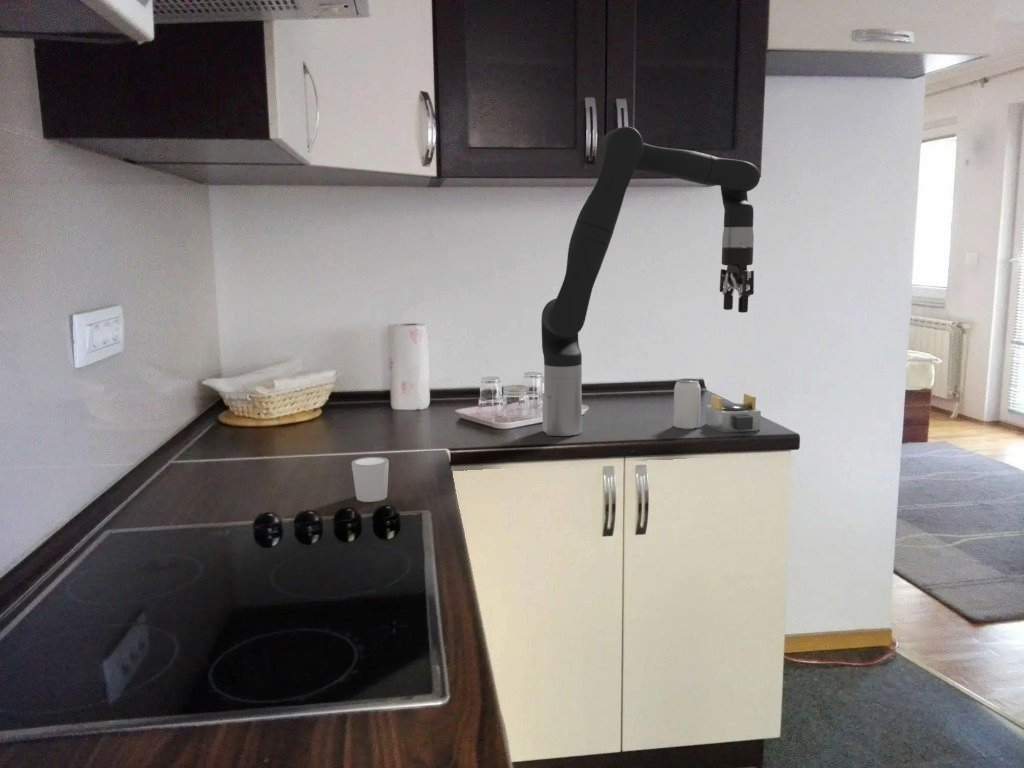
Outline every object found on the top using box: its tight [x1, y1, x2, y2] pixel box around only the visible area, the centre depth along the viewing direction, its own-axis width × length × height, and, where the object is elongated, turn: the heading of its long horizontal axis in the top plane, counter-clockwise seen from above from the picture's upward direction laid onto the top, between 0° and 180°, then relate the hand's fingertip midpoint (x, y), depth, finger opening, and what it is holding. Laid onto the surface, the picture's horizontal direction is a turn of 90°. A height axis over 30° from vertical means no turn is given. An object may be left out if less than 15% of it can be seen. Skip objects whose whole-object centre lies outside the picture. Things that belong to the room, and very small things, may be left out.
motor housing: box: [705, 393, 762, 433], centre depth 201 cm, size 10×12×8 cm
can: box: [673, 378, 701, 430], centre depth 203 cm, size 6×6×12 cm
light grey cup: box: [351, 456, 390, 503], centre depth 150 cm, size 7×7×7 cm
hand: (735, 311), depth 202 cm, fingers open, 8 cm apart
